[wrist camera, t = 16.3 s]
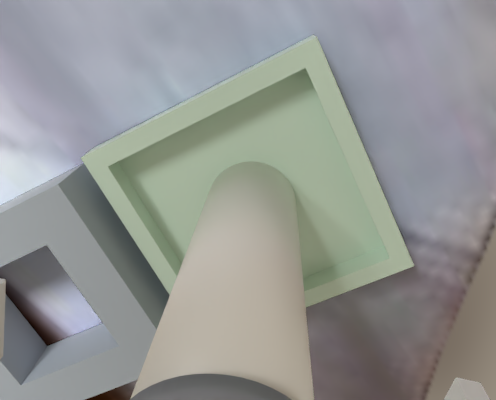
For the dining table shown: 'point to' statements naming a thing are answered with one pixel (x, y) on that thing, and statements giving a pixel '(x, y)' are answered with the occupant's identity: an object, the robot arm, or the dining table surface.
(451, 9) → the dining table surface
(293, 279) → the cartridge
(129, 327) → the housing
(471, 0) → the dining table surface
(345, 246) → the tray
